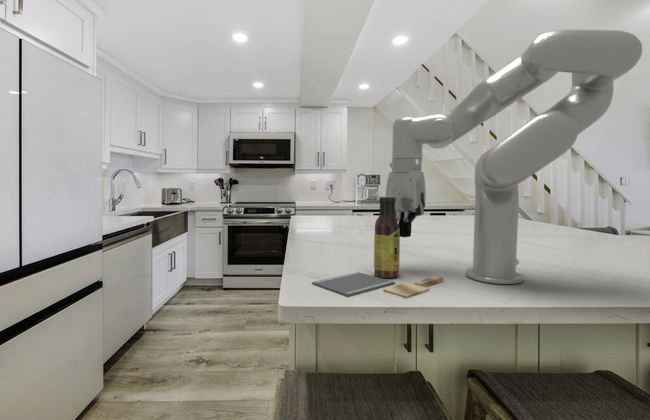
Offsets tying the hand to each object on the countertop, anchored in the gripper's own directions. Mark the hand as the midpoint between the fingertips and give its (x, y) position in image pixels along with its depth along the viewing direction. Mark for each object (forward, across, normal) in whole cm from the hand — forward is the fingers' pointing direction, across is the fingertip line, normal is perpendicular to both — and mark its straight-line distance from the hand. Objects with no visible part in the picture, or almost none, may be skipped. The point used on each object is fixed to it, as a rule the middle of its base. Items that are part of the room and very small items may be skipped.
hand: (404, 236), depth 91 cm
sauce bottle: (+10, 0, -7) cm, 12 cm away
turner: (+9, +11, -10) cm, 18 cm away
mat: (+9, 0, -19) cm, 21 cm away
